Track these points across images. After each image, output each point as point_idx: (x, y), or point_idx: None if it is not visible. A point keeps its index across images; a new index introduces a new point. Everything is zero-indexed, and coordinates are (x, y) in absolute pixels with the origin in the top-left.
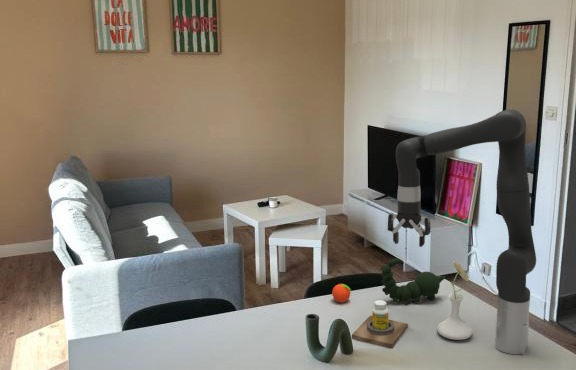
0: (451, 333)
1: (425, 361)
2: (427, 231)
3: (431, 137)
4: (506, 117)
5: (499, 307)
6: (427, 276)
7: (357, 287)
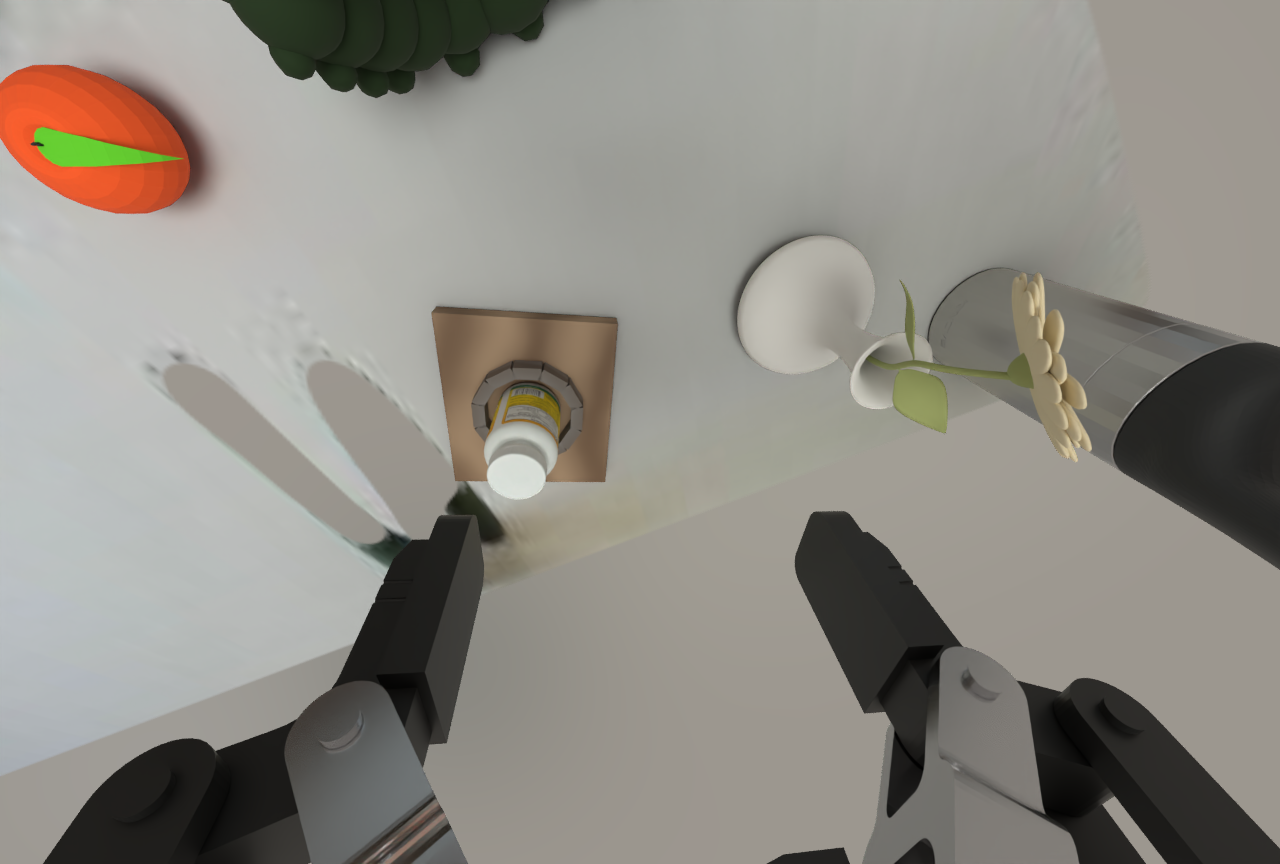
0: (795, 372)
1: (711, 492)
2: (1080, 839)
3: None
4: None
5: None
6: None
7: None
